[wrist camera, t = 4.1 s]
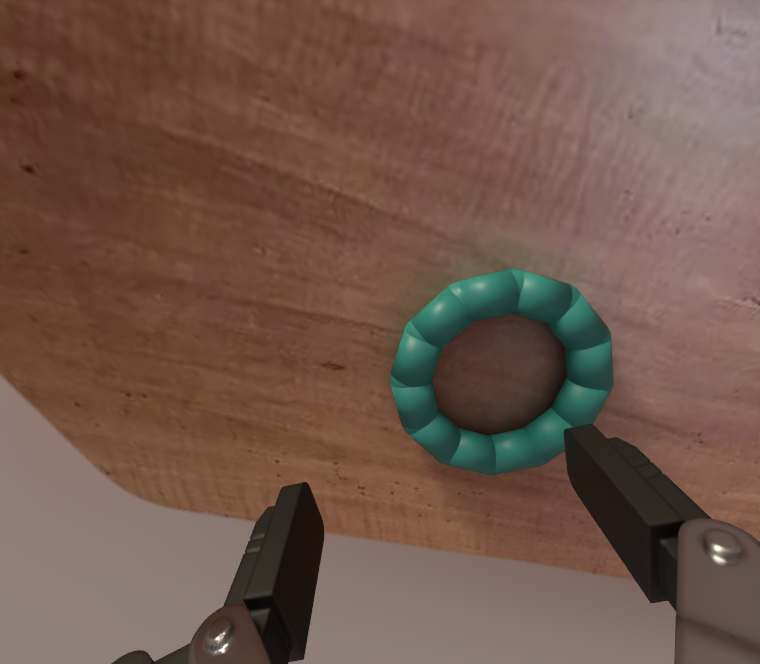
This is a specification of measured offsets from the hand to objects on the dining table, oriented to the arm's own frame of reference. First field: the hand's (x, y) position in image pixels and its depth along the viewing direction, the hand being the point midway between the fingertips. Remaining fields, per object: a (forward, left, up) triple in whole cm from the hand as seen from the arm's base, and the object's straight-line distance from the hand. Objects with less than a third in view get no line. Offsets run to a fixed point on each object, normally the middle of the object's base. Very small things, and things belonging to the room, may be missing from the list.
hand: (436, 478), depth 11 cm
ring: (+4, 0, -6) cm, 7 cm away
